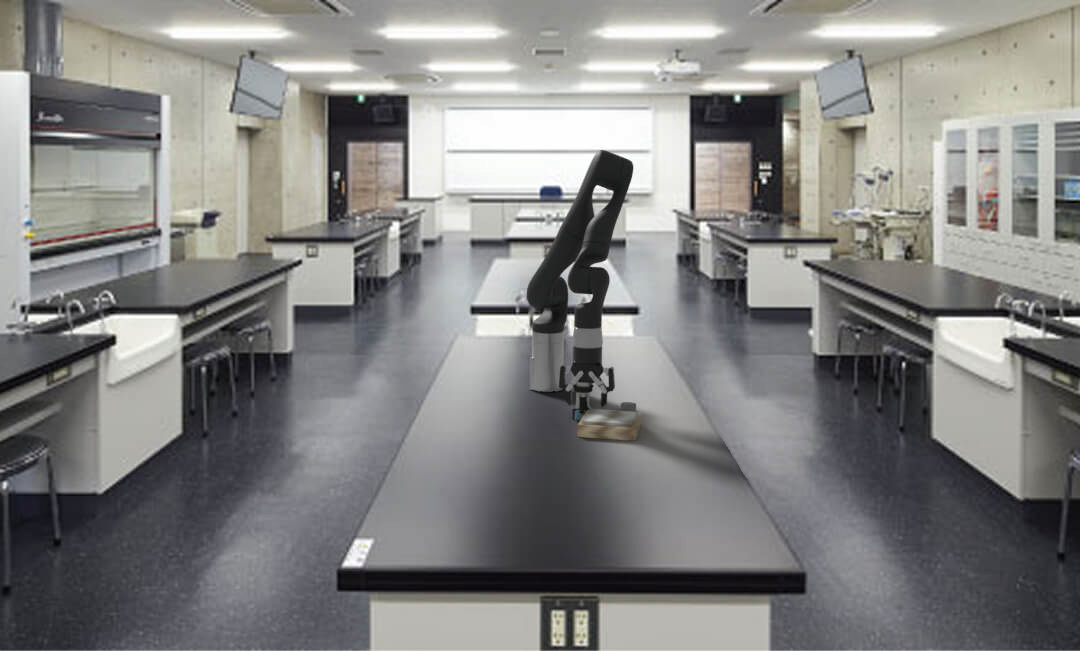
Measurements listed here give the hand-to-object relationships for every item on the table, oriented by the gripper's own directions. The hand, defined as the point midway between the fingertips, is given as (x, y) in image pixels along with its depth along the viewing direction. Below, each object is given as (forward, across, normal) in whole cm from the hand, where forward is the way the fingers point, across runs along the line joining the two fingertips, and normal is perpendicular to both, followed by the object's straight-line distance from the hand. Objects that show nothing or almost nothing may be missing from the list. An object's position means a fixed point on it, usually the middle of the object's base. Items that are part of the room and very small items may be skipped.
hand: (586, 405), depth 249 cm
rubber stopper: (+4, +11, +3) cm, 12 cm away
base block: (+4, +8, -10) cm, 13 cm away
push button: (+4, 0, 0) cm, 4 cm away
